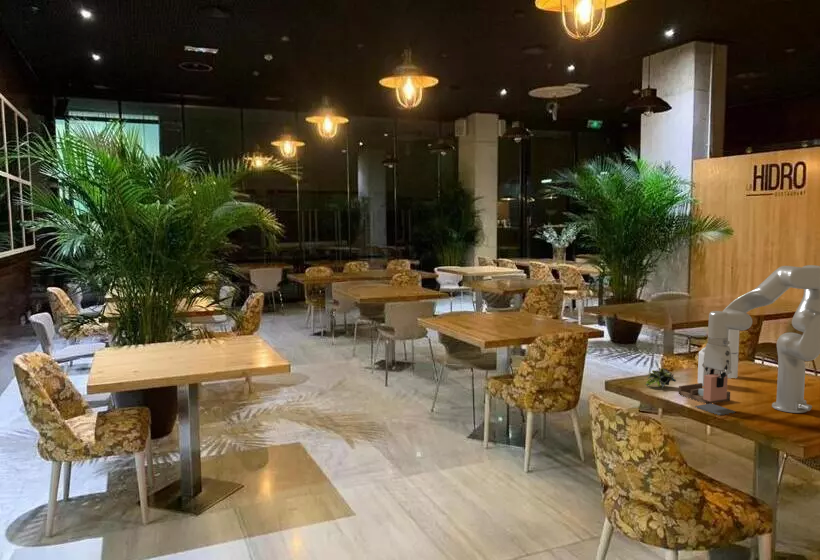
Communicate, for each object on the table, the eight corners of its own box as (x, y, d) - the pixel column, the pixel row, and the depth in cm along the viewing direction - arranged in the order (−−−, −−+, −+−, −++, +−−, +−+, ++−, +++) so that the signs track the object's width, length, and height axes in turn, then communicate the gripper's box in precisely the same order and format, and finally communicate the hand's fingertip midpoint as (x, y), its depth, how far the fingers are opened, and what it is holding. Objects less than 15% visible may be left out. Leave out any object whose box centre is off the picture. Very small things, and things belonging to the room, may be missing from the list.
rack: (729, 400, 268) (730, 391, 267) (707, 404, 263) (707, 395, 262) (700, 391, 282) (700, 383, 282) (678, 394, 277) (679, 386, 277)
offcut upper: (723, 396, 267) (723, 390, 267) (709, 398, 265) (709, 392, 264) (712, 392, 273) (712, 387, 273) (698, 394, 270) (698, 388, 270)
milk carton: (712, 383, 297) (714, 344, 295) (718, 387, 290) (720, 347, 288) (697, 382, 297) (698, 343, 295) (702, 386, 290) (704, 346, 288)
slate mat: (735, 412, 251) (735, 411, 251) (719, 415, 248) (719, 414, 248) (711, 404, 262) (711, 403, 262) (695, 407, 259) (695, 405, 259)
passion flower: (662, 397, 293) (678, 377, 292) (664, 399, 282) (680, 378, 281) (641, 382, 296) (657, 362, 295) (642, 383, 286) (659, 363, 285)
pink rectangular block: (726, 399, 254) (727, 375, 253) (710, 401, 251) (711, 377, 250) (719, 396, 258) (720, 373, 257) (703, 399, 254) (704, 375, 253)
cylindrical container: (718, 375, 310) (720, 326, 307) (727, 374, 313) (729, 325, 310) (730, 379, 303) (732, 328, 301) (740, 377, 306) (742, 327, 304)
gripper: (742, 344, 246) (739, 389, 248) (708, 337, 261) (705, 380, 263) (728, 346, 243) (726, 391, 245) (694, 338, 258) (692, 381, 260)
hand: (715, 385), depth 254 cm, fingers closed on pink rectangular block, 3 cm apart
